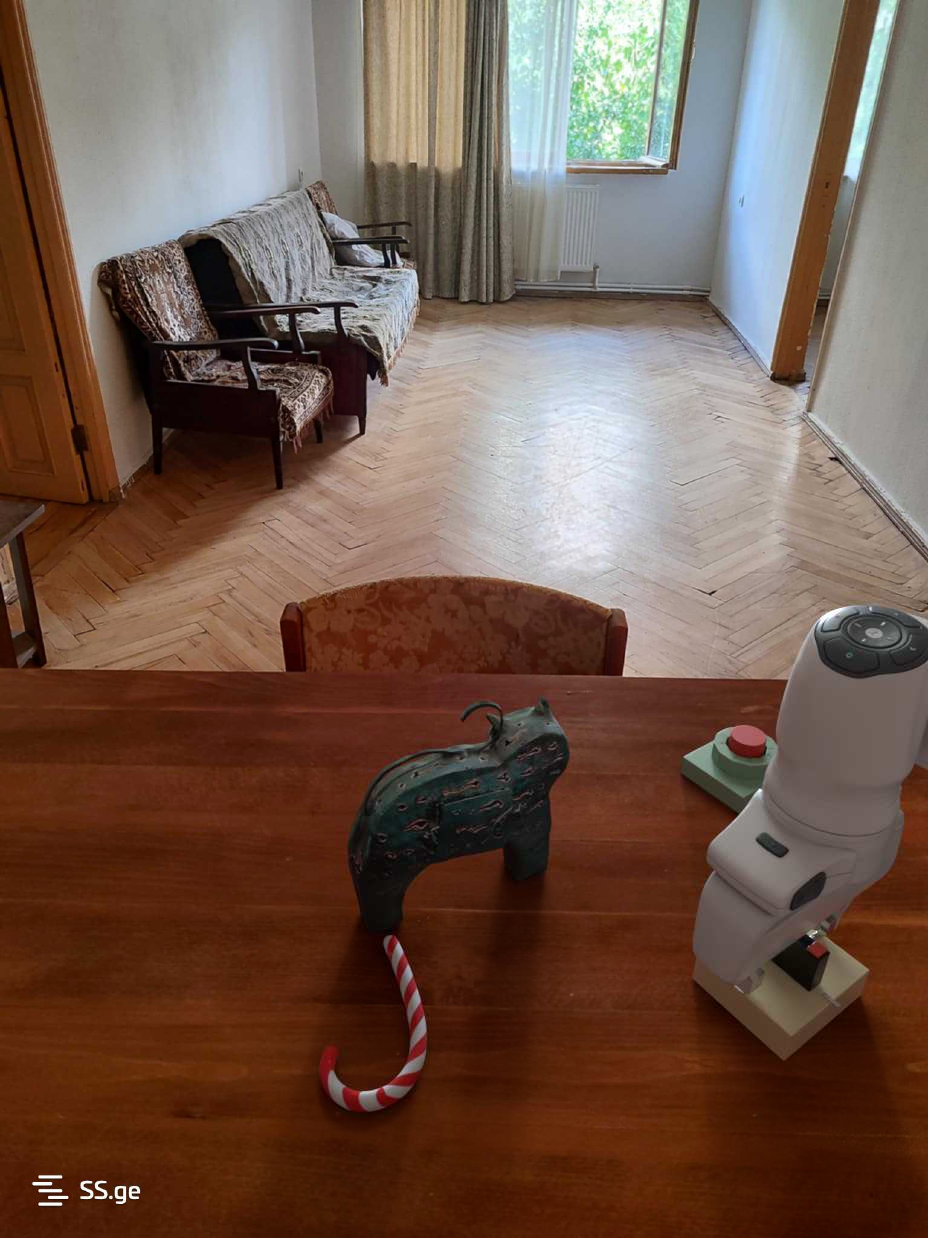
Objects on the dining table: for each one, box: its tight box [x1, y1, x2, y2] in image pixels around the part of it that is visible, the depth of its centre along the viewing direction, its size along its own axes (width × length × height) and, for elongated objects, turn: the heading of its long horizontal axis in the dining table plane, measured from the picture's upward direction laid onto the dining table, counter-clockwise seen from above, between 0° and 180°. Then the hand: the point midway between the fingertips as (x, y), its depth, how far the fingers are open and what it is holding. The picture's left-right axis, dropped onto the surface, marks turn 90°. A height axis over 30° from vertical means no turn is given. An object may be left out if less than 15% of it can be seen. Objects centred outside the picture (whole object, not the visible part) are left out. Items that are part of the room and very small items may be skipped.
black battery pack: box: [771, 934, 830, 992], centre depth 69 cm, size 6×2×4 cm, turn 35°
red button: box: [728, 724, 767, 759], centre depth 93 cm, size 4×4×2 cm
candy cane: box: [318, 934, 428, 1113], centre depth 68 cm, size 8×1×15 cm
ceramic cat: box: [347, 695, 571, 934], centre depth 75 cm, size 20×6×20 cm, turn 115°
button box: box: [680, 726, 777, 815], centre depth 94 cm, size 10×8×4 cm
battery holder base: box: [692, 929, 870, 1062], centre depth 71 cm, size 10×10×3 cm
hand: (784, 955), depth 70 cm, fingers open, 8 cm apart
